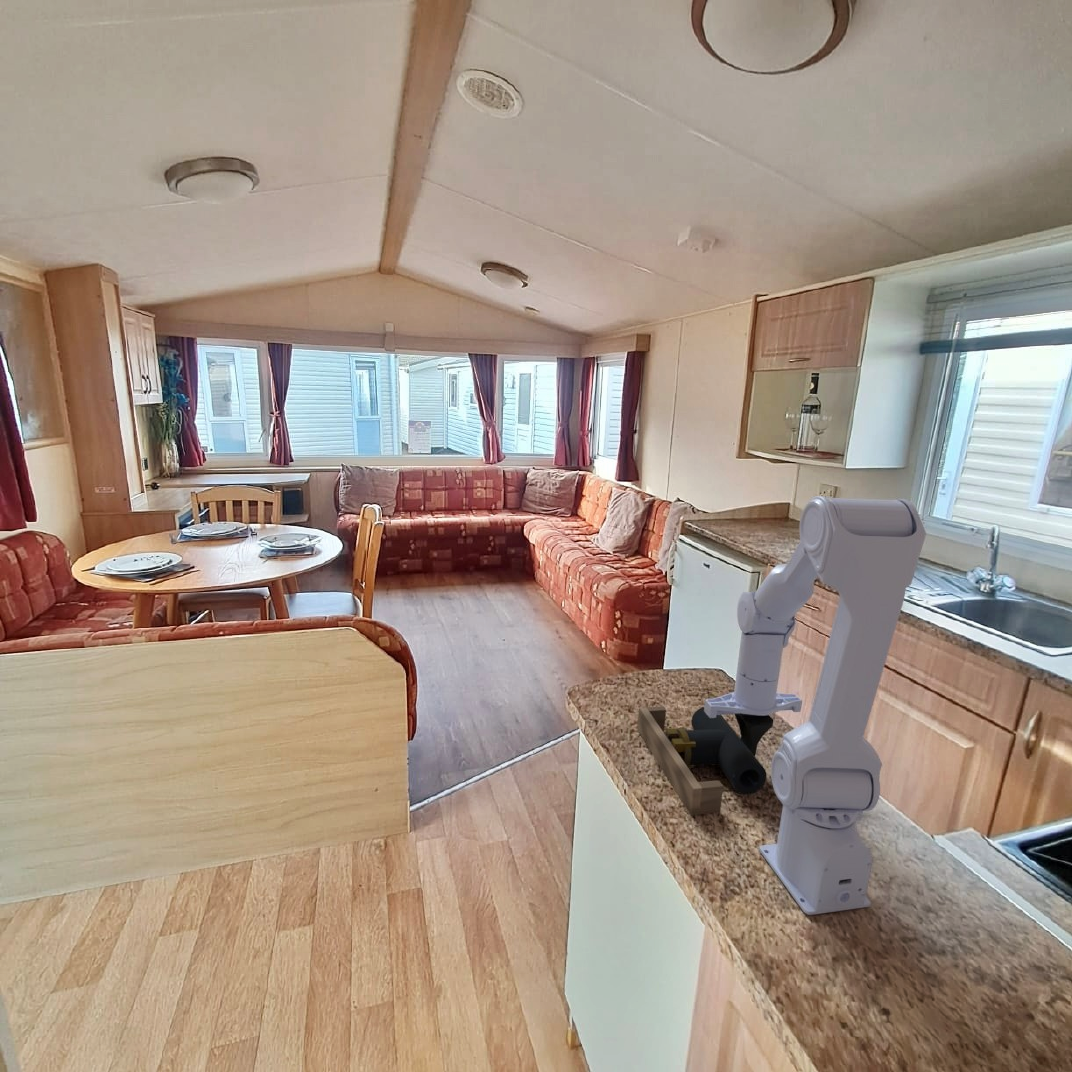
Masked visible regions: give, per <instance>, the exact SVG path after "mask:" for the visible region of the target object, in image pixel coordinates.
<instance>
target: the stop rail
mask: <svg viewBox="0 0 1072 1072" xmlns="http://www.w3.org/2000/svg"><path fill="white" fill-rule="evenodd" d="M666 713H667V709H666V708H665V706H663V705H661V706H659V705H658V706H645V707H639V708H638V716H637V728H636V729H637V731H638V733H639V734H641V735H640V736H641V738H642V739H643V741H644V742H645V745H646V746H647V747H648V749H649V751H650V752H651V753H652V756H653V757H654V759H655V761H656V762H657V763H658V766H659V767H660V768H661V770H662V771H663V773H664V774H665V776H666V778H667V779H668V782H669V783H670V784H671V786H672V788H673V789H674V791H675V792H676V794H677V796H678V797H679V799H680V800H681V802H682V804H683V806H684V807H685V809H686V810H687V812H688V813H689V815H690V816H697V815H699V816H700V815H707V814H714V813H715V814H718V813H721V808H722V807H721V806H722V801H723V800H722V799H723V794H724V792H723V791H724V784H722V783H721V781H720V780H708V781H707V780H706V781H698V780H697V779H696V777H695V776H694V774H693V773H692V771H691V770H690V768H688V767H687V766H686V764H685V763H684V761H683V760H682V758H681V757H680V755H679V754H678V753H677V751H676V750H675V748H674V747H673V745H672V744H671V742H672V741H671V742H670V741H669V740H668V738H667V737H666V735H665V724H666Z"/></svg>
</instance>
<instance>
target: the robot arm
mask: <svg viewBox="0 0 1072 1072" xmlns="http://www.w3.org/2000/svg"><path fill="white" fill-rule="evenodd" d="M798 528H799V529H798V530H799V539H800V541H799V543H798V544H797V546H796V547H795V549H794V551H793V553H792V555H791V556H790V558H789V560H788V561H787V563H780V564H776V566H774V567H773V568H772V569H771V570H770V572H769V573H768V574H767V576H766V577H765V579H764V580H763V581H762V582H761V584H760V586H759V587H757V589H756V590H755V591H750V592H749V591H743V592H742V593H741V595H740V596H739V598H738V603H737V609H736V610H737V612H736V614H737V615H736V617H737V623H738V627H739V629H740V631H741V635H740V643H739V650H738V657H737V658H738V660H737V667H736V675H735V684H734V691H732V692H730V693H726V694H723V695H720V696H717V697H714V698H707V699H705V700H704V706H703V707H704V712H705V713H706V714H707V715H708V716H709V718H716V715H722V716H723V715H724V716H725V715H734V716H735V719H736V721H737V725H738V727H739V732H740V739H741V740H742V741H743V742H744V744H745V745H746V746H747V747H748V749H749V750H750V751H751V752H752V754H753V755H754V756H755V757H756V755H757V749H758V745H759V742H760V741H761V740H762V738H763V737H764V736H765V734H766V733H767V732H768V731H769V730H770V729H771V728H773V726H774V718H772V716H771V715H772V714H773V715H774V714H775V713H779V712H781V711H783V712H784V711H792V712H794V713H800V712H801V710H802V705H803V700H802V699H801V698H800V697H799V696H798V695H797V694H795V693H779V692H777V691H778V684H779V678H780V671H781V665H782V658H783V657H782V656H783V650H784V649H785V648H787V646H788V645H789V639H790V636H791V635H792V634H793V632H794V630H795V626H796V614H797V613H798V612H799V611H800V610H801V609H802V608H803V607H804V606H805V605H806V603H807V602H809V600H810V599H811V598H812V597H813V595H814V593H815V592H814V591H815V583H814V582H815V580H816V579H818V578H819V580H820V582H821V583H822V584H825V585H826V586H828V587H830V588H831V589H833V590H834V591H835V590H836V591H837V592H838V595H839V599H838V603H837V608H836V612H835V615H834V619H833V623H832V627H831V631H830V635H829V639H828V643H827V647H826V651H825V655H824V659H823V663H822V667H821V670H820V674H819V678H818V682H817V686H816V691H815V695H814V698H813V702H812V707H811V710H810V714H809V718H808V721H806V722H804V723H802V724H801V725H799V726H797V727H795V728H793V729H791V730H790V731H788V732H786V733H784V735H783V737H782V740H781V744H780V746H779V747H778V748H777V750H776V751H775V753H774V755H773V756H772V759H771V764H770V777H771V783H772V787H773V788H772V789H773V792H774V793H775V795H776V798H777V799H778V800H779V802H780V803H781V804H782V810H781V817H780V822H779V829H778V835H777V840H776V841H777V842H776V843H774V844H764V845H760V846H759V848H758V849H759V852H760V854H761V855H762V856H763V857H764V859H765V860H766V861H767V863H768V865H769V866H770V867H771V869H772V871H774V873H775V874H776V876H777V877H778V878H779V880H780V881H781V882H782V884H783V886H785V889H787V891H788V893H790V895H791V896H792V898H793V899H794V900H795V902H796V903H797V904H798V906H799V907H800V909H801V910H802V911H803V913H805V914H806V915H807V916H808V915H809V916H810V915H811V916H812V915H820V914H825V913H832V912H840V911H841V912H842V911H848V910H854V909H863V908H868V907H870V906H871V900H870V899H869V898H868V897H867V891H868V886H869V882H870V876H871V872H872V866H873V855H872V852H871V850H870V849H869V847H868V846H867V845H866V842H864V840H863V839H862V837H861V835H860V833H859V830H858V827H857V825H856V822H857V821H862V819H863V814H864V812H869V811H873V809H874V808H875V807H876V806H877V805H878V801H879V799H880V795H881V782H880V778H881V777H880V775H881V774H880V773H881V770H882V767H883V762H882V761H881V759H880V756H879V754H878V753H877V751H876V749H875V748H874V746H873V745H872V744H871V743H870V742H869V741H868V740H867V739H866V738H865V737H864V735H865V731H866V728H867V725H868V721H869V718H870V715H871V711H872V709H873V705H874V702H875V698H876V695H877V691H878V688H879V684H880V681H881V678H882V674H883V672H884V668H885V664H886V662H887V661H886V660H887V658H888V654H889V651H890V647H891V646H892V641H893V638H894V634H895V631H896V628H897V624H898V621H899V618H900V615H901V610H902V608H903V605H904V604H903V603H904V601H905V595H906V589H907V588H908V587H910V586H911V585H912V583H913V579H914V576H915V572H916V569H917V566H918V562H919V559H920V556H921V552H922V549H923V547H924V542H925V540H926V536H927V532H926V529H925V526H924V524H923V522H922V520H921V518H920V515H919V511H918V510H917V508H916V507H915V505H914V504H913V503H912V502H911V501H910V500H907V499H905V498H894V499H893V498H892V499H872V498H871V499H870V498H846V497H827V496H823V495H816V496H814V497H812V498H811V499H810V500H809V501H808V502H807V504H806V505H805V506H804V508H803V509H802V512H801V515H800V520H799V527H798Z"/></svg>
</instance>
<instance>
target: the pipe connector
mask: <svg viewBox="0 0 1072 1072" xmlns="http://www.w3.org/2000/svg"><path fill="white" fill-rule="evenodd" d="M691 727H692V729H687V728H686V727H683V728H682V727H681V728H679V727H678V728H677V727H676V728H665V730H664V734H665V735H666V737H667V738H668V740H669V741H670V742H671V744H672V745H673V747H674V748H675V750H676V751H677V753H678V754H679V755H680V757H681V758H682V760H683V761H684V763H685V764H686V766H687V767H688V768H689V769H691V768H692V769H694V766H719V768H720V769H721V771H722V773H723V774H724V775H725V777H726V778H727V780H728V781H729V783H730V784H731V786H732V787H733V789H734V790H735V791H736V792H737V793H740V794H742V795H751V794H754V793H757V792H758V791H760V790H761V789H762V788H763V786H764V785H765V783H766V780H767V771H766V769H765V767H764V766H763V765H762V764H761V762H760V761H759V760H758V758H757V757H756V755H755V756H754V755H753V754H752V752H751V751H750V750H749V749H748V747H747V746H746V745H745V744H744V742H743V741H742V740H741V736H739V735H738V734H737V732H736V731H735V730H734V728H733V727H731V725H730V724H729V723H728V721H727V720H726V718H725V717H724V716H723V715H716V718H709V716H708V715H707V714H706V713H705V712H704V706H703V707H700V708H699V709H697V710H696V711H695V712H694V713H693V715H692V717H691Z"/></svg>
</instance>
